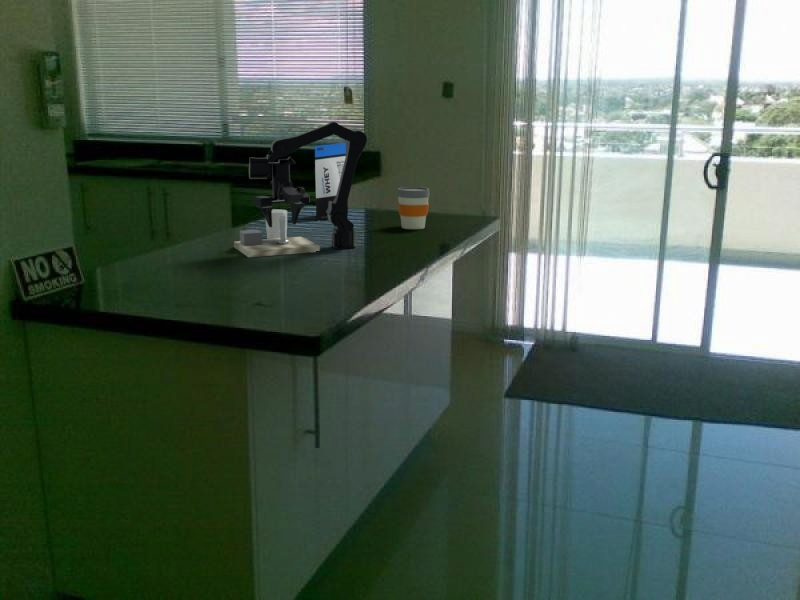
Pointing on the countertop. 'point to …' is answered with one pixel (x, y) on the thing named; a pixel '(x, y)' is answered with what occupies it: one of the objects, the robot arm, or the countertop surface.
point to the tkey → (282, 234)
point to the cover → (251, 237)
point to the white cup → (276, 224)
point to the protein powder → (327, 175)
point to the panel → (278, 247)
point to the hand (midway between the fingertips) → (282, 225)
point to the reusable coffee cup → (413, 206)
